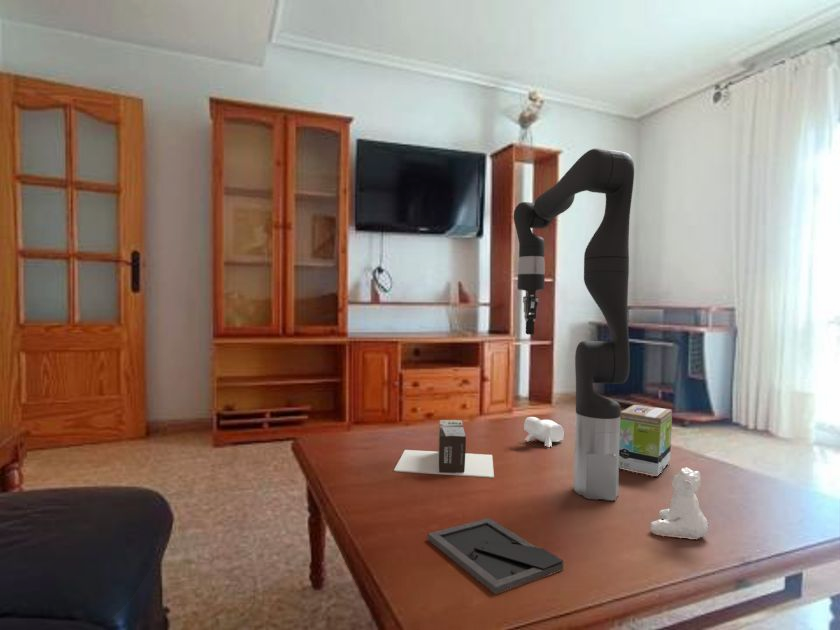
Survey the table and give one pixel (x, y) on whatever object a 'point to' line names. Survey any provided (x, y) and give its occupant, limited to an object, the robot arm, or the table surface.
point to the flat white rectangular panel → (430, 464)
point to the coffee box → (451, 446)
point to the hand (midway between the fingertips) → (529, 334)
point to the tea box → (645, 439)
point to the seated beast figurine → (683, 509)
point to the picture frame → (495, 554)
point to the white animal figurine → (543, 430)
